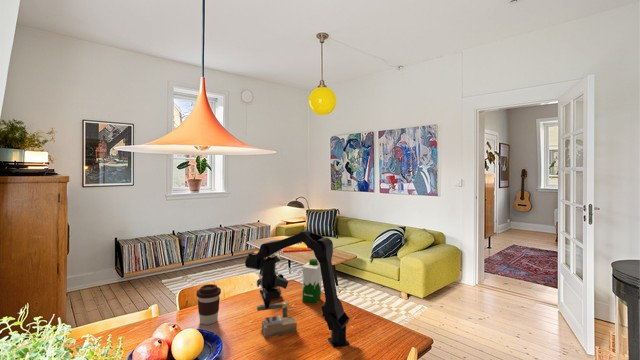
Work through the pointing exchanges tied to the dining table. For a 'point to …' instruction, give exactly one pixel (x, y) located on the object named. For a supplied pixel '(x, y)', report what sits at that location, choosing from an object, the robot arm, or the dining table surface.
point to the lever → (274, 306)
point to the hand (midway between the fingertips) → (267, 308)
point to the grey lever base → (280, 326)
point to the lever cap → (273, 321)
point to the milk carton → (311, 282)
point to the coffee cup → (208, 303)
